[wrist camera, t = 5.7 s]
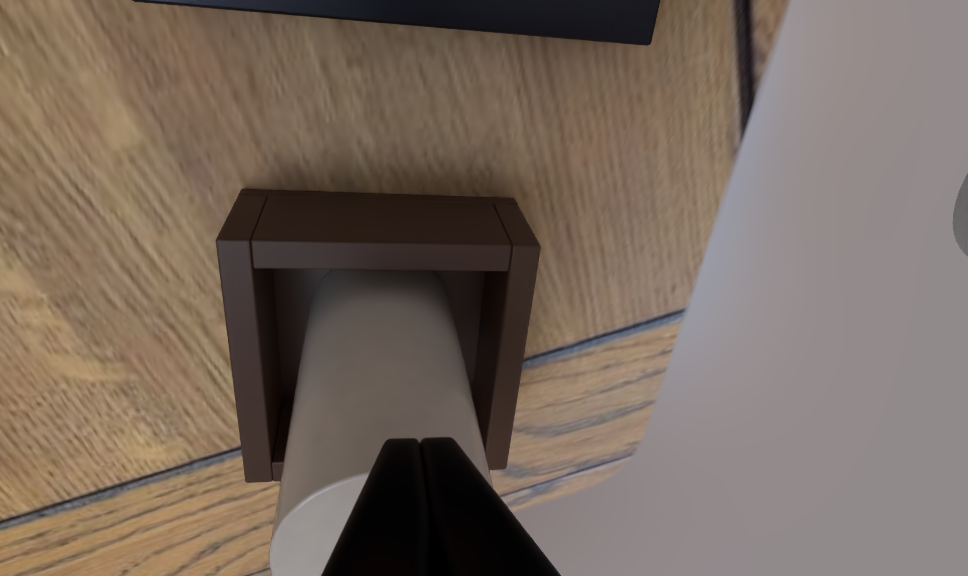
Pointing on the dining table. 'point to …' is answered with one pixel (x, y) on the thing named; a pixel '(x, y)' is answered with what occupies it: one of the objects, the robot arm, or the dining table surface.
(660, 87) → the dining table surface
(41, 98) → the dining table surface
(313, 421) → the canister
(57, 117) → the dining table surface
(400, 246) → the holder
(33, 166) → the dining table surface
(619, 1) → the base
